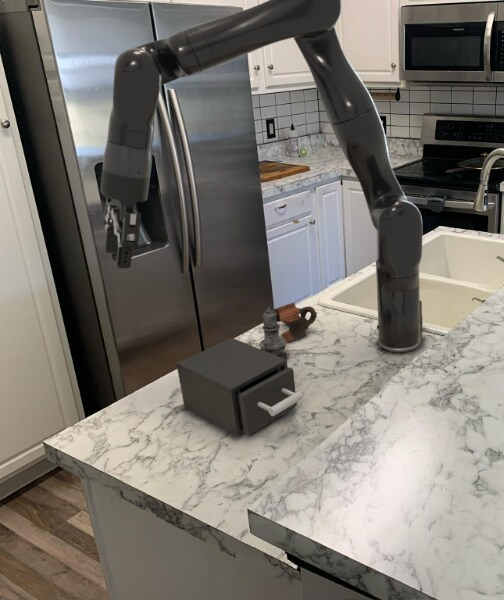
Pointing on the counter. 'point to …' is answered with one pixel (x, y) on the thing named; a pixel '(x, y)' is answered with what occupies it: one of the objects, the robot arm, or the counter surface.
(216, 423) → the small drawer cabinet
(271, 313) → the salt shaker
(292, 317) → the pottery mug
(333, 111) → the robot arm
